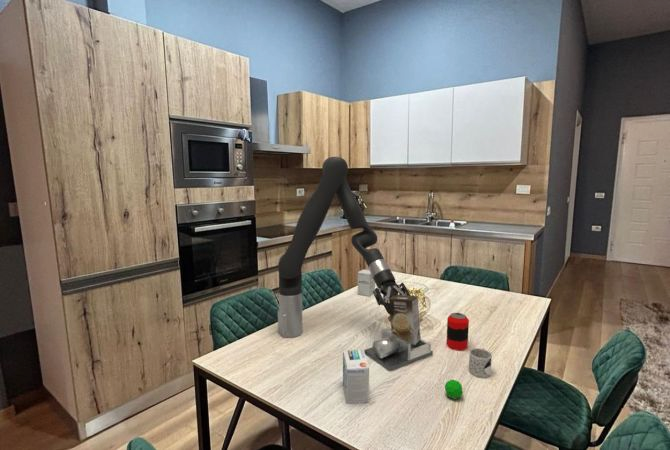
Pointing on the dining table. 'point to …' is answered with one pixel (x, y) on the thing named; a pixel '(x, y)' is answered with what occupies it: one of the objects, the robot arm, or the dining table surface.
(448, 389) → the green ball
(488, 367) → the mug
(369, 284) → the supplement box
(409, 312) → the coffee box
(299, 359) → the dining table surface
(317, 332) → the dining table surface
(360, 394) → the light bulb box
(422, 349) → the motor mount
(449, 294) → the dining table surface
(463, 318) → the soda can
